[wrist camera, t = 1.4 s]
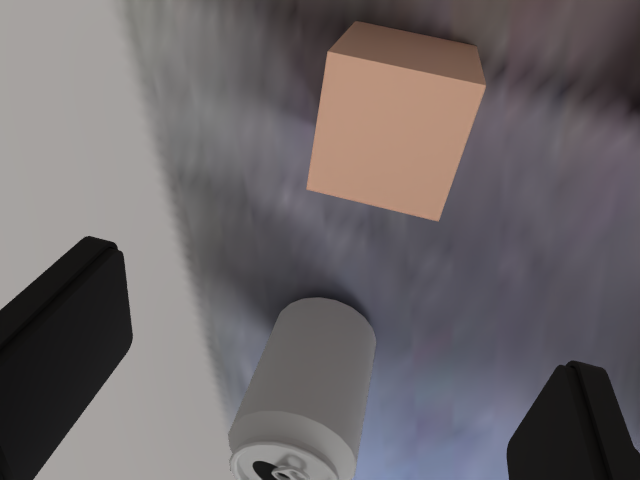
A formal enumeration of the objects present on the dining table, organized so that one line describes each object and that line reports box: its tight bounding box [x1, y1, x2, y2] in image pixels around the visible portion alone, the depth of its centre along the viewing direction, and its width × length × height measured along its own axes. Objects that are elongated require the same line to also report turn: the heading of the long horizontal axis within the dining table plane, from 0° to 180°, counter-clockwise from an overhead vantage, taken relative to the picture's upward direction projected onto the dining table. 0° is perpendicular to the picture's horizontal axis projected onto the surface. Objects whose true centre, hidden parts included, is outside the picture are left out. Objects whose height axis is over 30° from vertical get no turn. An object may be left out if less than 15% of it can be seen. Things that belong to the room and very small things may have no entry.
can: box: [228, 297, 376, 480], centre depth 31 cm, size 8×8×12 cm
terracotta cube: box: [306, 21, 486, 222], centre depth 22 cm, size 6×6×7 cm
